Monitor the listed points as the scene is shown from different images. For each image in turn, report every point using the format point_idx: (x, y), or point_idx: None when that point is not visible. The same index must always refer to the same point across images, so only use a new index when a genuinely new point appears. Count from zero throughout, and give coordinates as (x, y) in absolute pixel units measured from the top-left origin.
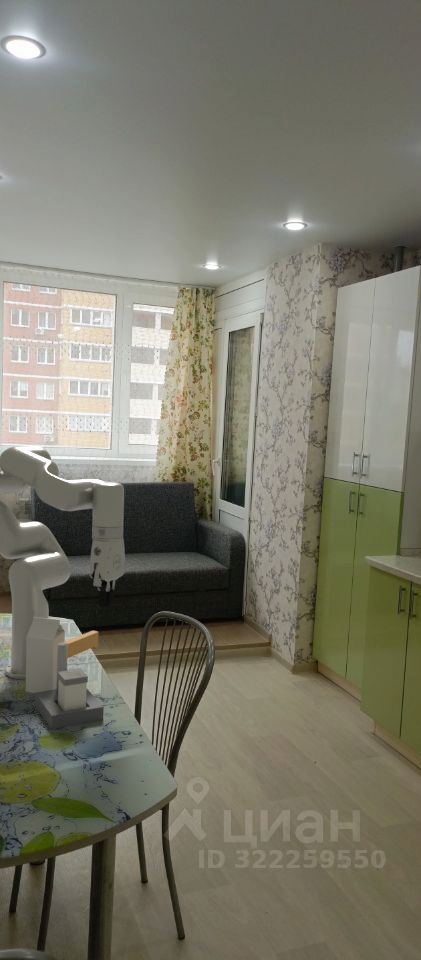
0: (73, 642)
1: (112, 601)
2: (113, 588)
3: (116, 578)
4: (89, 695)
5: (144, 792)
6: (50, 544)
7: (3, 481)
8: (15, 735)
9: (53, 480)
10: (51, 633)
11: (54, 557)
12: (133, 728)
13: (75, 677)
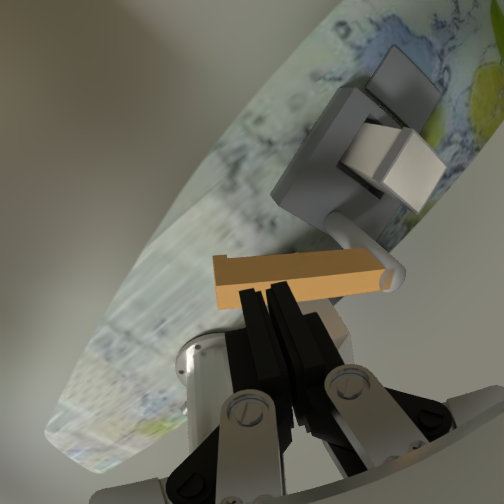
0: (360, 270)
1: (254, 306)
2: (234, 402)
3: (139, 493)
4: (323, 151)
5: None
6: None
7: None
8: (433, 194)
9: None
10: (341, 356)
11: None
12: (320, 25)
13: (430, 153)
